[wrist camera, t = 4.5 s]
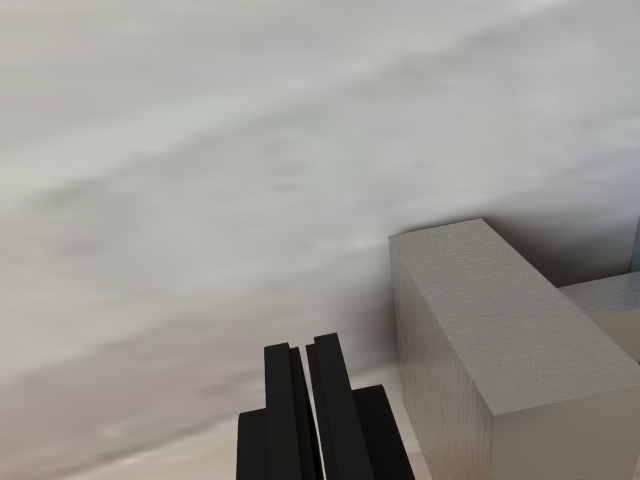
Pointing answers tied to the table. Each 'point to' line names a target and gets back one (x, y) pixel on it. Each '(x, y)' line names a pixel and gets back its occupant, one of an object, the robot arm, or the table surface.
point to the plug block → (514, 361)
